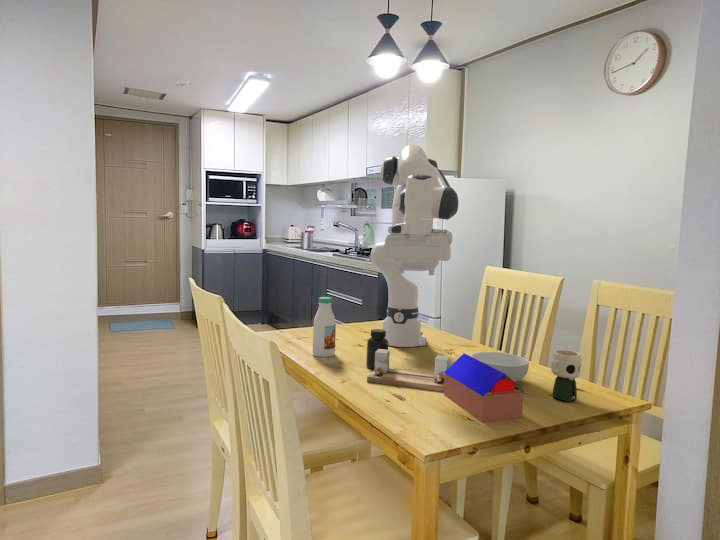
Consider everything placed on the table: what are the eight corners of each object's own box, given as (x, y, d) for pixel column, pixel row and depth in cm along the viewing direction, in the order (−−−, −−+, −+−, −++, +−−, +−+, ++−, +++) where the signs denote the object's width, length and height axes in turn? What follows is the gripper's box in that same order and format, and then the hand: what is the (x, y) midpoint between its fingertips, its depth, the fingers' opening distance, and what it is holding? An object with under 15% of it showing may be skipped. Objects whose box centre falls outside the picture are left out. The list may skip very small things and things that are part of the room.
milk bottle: (315, 358, 180) (316, 299, 178) (310, 352, 187) (311, 296, 185) (337, 357, 182) (339, 299, 180) (331, 351, 189) (333, 295, 187)
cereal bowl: (539, 385, 158) (541, 362, 157) (498, 393, 150) (499, 368, 149) (498, 370, 173) (500, 348, 172) (458, 376, 165) (460, 353, 164)
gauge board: (377, 371, 166) (378, 347, 166) (464, 382, 158) (466, 356, 158) (367, 381, 156) (368, 355, 155) (460, 393, 148) (461, 366, 147)
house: (480, 392, 150) (482, 352, 149) (523, 418, 132) (526, 372, 130) (442, 395, 147) (444, 354, 145) (481, 423, 128) (484, 375, 127)
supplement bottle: (385, 370, 168) (387, 333, 166) (364, 369, 169) (365, 331, 168) (388, 365, 174) (390, 329, 173) (368, 363, 176) (369, 327, 174)
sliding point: (436, 375, 159) (437, 355, 158) (448, 376, 158) (449, 356, 157) (432, 381, 152) (433, 360, 152) (444, 382, 151) (445, 362, 151)
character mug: (560, 405, 141) (563, 357, 140) (539, 397, 147) (543, 351, 146) (588, 400, 146) (592, 354, 145) (568, 392, 152) (571, 347, 151)
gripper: (454, 229, 161) (451, 275, 162) (388, 227, 167) (386, 271, 168) (451, 230, 155) (448, 277, 156) (383, 227, 161) (381, 273, 162)
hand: (416, 274), depth 162 cm, fingers open, 8 cm apart
